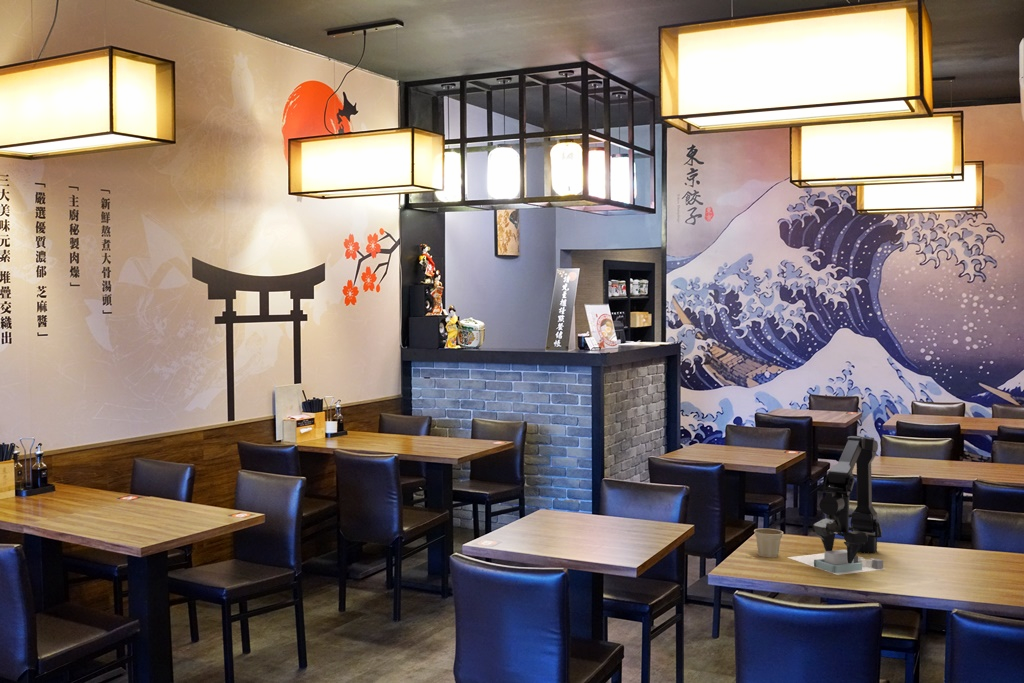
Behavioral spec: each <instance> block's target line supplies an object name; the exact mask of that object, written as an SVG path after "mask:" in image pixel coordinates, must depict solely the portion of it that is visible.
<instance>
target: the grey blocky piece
mask: <svg viewBox="0 0 1024 683" xmlns="http://www.w3.org/2000/svg"><path fill="white" fill-rule="evenodd" d="M872 559H873V563H872V567H873V568H875V569H883V568H884V559H880V558H872ZM858 563H861V562H858ZM883 570H884V569H883Z"/></svg>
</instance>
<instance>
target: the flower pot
mask: <svg viewBox="0 0 1024 683" xmlns="http://www.w3.org/2000/svg"><path fill="white" fill-rule="evenodd" d="M753 532H754V535H755V538H756V547H757V548H756V549H757V554H758V556H759V557H763V558H778V557H779V553H780V552H779V551H780V545H781V539H782V538H783V534H784V531H782V530H779V529H775V528H755V529H754V530H753Z"/></svg>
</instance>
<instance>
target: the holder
mask: <svg viewBox="0 0 1024 683" xmlns="http://www.w3.org/2000/svg"><path fill="white" fill-rule="evenodd" d="M814 566H815V567H814V568H816V567H818V568H817V569H819V568H821V569H824V570H826V571H825V572H827V571H829V572H828V573H830V572H832V573H831V574H833V573H839V572H847V571H856V570H862V563H852V564H843V565H835V566H834V565H831V564H828V563H825V562H824V559H817V560H814ZM821 569H820V570H821ZM824 570H823V571H824Z"/></svg>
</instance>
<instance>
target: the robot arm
mask: <svg viewBox="0 0 1024 683" xmlns="http://www.w3.org/2000/svg"><path fill="white" fill-rule="evenodd" d="M878 449H879V444H878V441H877V440H875V438H874V437H869V436H868V437H867V436H858V435H857V436H856V435H850V436H847V438H846V443H845V447H844V449H843V451H842V453H841V455H840V458H839V460H838V462H837V463H835V464H833V465H831V467H830V468H829V470H828V472H827V473H826V474H825V475H826V476H825V480H824V484H823V487H822V493H825V496H823V497H822V498H821V499H820V502H819V508H820V511H821V512H822V513H823V514H825V515H826V516H825V518H822V519H820V520H819V521H817V522H814V523H813V525H812V532H813V533H815V535H816V536H818V538H820V540H821V542H822V544H823V547H824V552H825V551H833V549H834V543H835V539H836V536H837V535H838V536H839V537H843V539H844V542H843V544H844V545H845V546H846V550H847V559H848V563H852V561H853V559H854V557H855V555H856V556H857V554H858V553H859V554H868V555H869V554H875V553H877V552H878V538H882V536H883V535H882V532H883V531H882V530H883V528H882V527H881V522H880V521H879V519H878V513H877V511H876V509H875V508H874V507H873V499H872V498H873V497H872V496H873V494H872V493H873V492H872V490H873V489H872V488H873V487H872V462H873V461H874V459H875V457H876V456H877V452H878ZM855 466H856V508H854V511H853V512H852V513H850V494H851V493H852V491H853V487H854V484H855V477H854V473H853V471H854V468H855Z"/></svg>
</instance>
